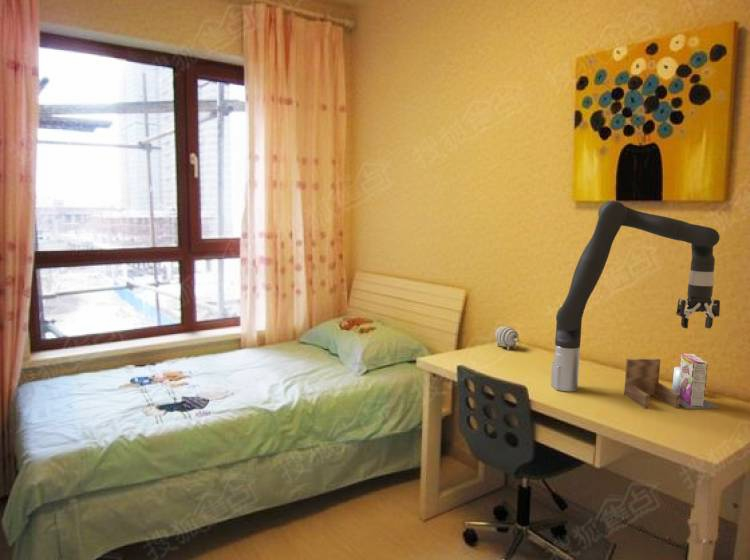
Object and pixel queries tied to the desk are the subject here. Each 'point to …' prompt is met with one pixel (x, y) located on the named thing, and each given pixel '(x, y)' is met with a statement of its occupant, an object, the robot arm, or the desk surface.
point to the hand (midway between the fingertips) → (696, 327)
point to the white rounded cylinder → (676, 379)
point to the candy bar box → (692, 379)
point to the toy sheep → (506, 337)
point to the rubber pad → (706, 406)
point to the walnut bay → (647, 383)
